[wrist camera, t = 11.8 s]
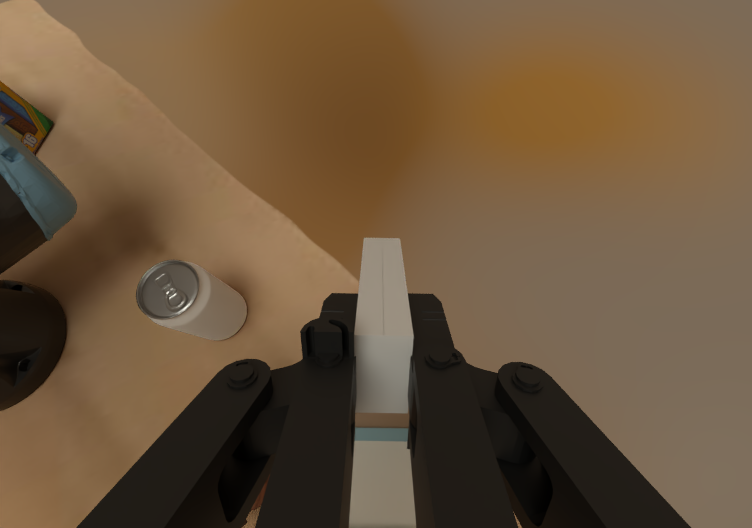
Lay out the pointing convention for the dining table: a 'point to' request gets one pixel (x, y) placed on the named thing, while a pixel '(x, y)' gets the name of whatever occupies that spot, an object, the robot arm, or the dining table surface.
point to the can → (190, 300)
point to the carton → (382, 486)
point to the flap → (381, 426)
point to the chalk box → (22, 119)
